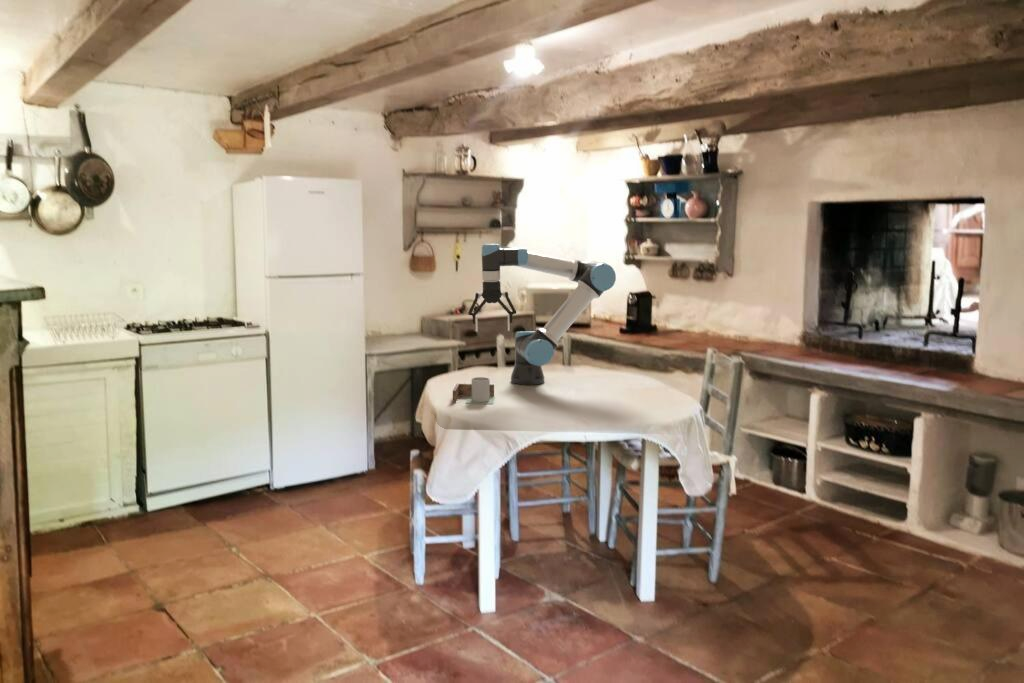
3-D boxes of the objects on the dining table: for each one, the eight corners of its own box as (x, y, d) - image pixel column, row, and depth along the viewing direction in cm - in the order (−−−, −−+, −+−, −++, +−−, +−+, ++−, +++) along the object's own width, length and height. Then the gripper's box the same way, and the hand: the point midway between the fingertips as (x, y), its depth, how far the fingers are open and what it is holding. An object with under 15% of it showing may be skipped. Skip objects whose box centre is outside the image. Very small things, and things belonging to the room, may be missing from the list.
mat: (495, 397, 327) (494, 396, 327) (492, 404, 315) (492, 403, 315) (468, 396, 327) (468, 396, 327) (465, 403, 315) (465, 403, 315)
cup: (474, 403, 315) (474, 381, 314) (467, 397, 324) (467, 376, 323) (491, 402, 318) (492, 380, 316) (483, 396, 327) (484, 375, 326)
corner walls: (494, 396, 329) (494, 384, 328) (491, 403, 315) (491, 391, 315) (456, 395, 330) (456, 383, 329) (452, 403, 316) (452, 390, 315)
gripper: (520, 279, 337) (521, 328, 341) (462, 280, 337) (463, 330, 340) (521, 281, 330) (522, 331, 333) (461, 282, 329) (463, 333, 333)
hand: (492, 330), depth 337 cm, fingers open, 13 cm apart
